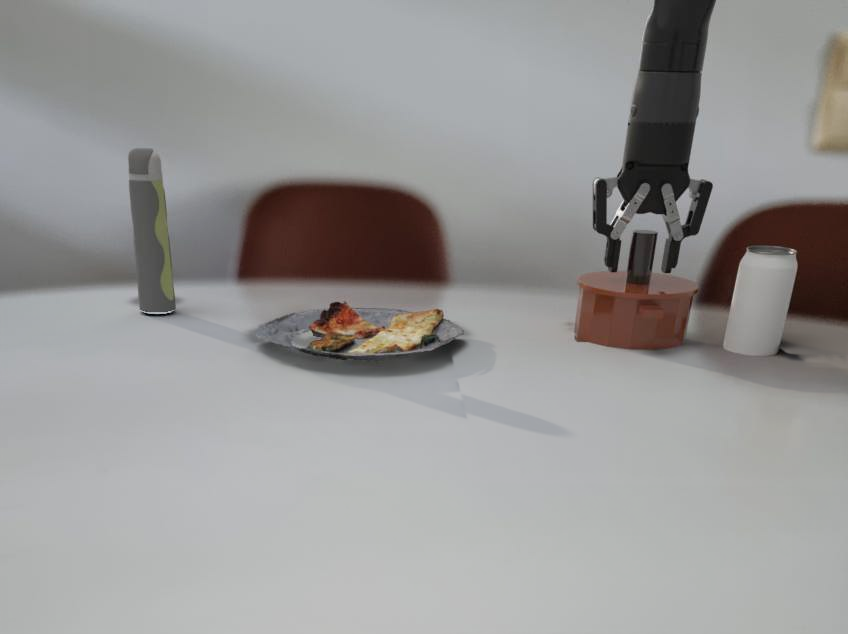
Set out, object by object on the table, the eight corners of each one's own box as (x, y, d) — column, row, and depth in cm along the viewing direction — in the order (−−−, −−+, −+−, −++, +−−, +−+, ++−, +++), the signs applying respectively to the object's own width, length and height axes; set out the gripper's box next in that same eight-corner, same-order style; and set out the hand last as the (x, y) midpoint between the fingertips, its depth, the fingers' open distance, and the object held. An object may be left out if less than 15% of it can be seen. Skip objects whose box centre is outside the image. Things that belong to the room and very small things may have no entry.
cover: (679, 281, 127) (689, 224, 124) (711, 306, 115) (723, 242, 111) (567, 279, 127) (574, 221, 124) (588, 303, 115) (596, 240, 111)
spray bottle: (182, 310, 134) (169, 148, 124) (165, 317, 130) (151, 150, 120) (150, 307, 135) (135, 146, 125) (133, 314, 131) (116, 149, 121)
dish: (663, 323, 132) (671, 273, 129) (702, 361, 116) (713, 304, 113) (563, 321, 132) (569, 271, 129) (588, 359, 116) (596, 302, 113)
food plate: (325, 315, 133) (325, 288, 131) (486, 336, 124) (488, 308, 123) (224, 357, 114) (222, 326, 112) (406, 386, 105) (408, 353, 103)
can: (785, 353, 120) (810, 250, 114) (763, 363, 116) (787, 256, 109) (735, 343, 123) (756, 243, 117) (712, 353, 119) (733, 249, 113)
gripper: (715, 117, 114) (688, 267, 123) (593, 114, 114) (575, 265, 123) (735, 120, 108) (705, 279, 117) (606, 117, 108) (586, 276, 117)
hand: (638, 271), depth 120 cm, fingers open, 6 cm apart
